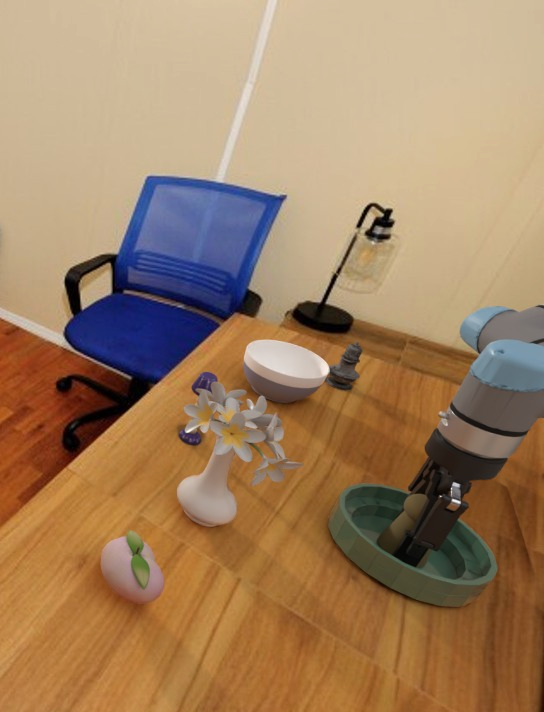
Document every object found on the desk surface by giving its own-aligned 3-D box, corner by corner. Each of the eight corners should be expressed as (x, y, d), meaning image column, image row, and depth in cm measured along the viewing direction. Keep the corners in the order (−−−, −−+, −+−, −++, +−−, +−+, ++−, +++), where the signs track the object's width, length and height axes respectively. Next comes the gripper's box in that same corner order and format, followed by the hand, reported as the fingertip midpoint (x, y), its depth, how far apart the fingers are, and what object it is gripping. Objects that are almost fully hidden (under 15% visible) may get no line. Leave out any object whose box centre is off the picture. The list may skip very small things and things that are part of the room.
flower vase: (220, 572, 80) (270, 456, 69) (139, 485, 96) (169, 379, 85) (282, 549, 84) (339, 435, 72) (194, 469, 99) (230, 364, 88)
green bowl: (467, 545, 84) (486, 520, 81) (486, 636, 71) (508, 611, 69) (329, 490, 94) (341, 467, 92) (323, 561, 82) (338, 537, 79)
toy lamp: (202, 449, 104) (225, 384, 97) (178, 444, 106) (198, 379, 98) (199, 433, 108) (220, 370, 101) (175, 429, 110) (194, 366, 102)
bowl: (223, 369, 129) (234, 337, 124) (291, 373, 127) (305, 341, 122) (253, 410, 115) (266, 375, 110) (330, 415, 113) (346, 381, 108)
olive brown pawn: (376, 551, 82) (405, 504, 77) (378, 527, 86) (406, 481, 81) (426, 574, 78) (460, 527, 73) (426, 548, 82) (459, 501, 77)
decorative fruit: (88, 561, 82) (98, 519, 78) (139, 562, 82) (152, 520, 78) (107, 620, 74) (119, 577, 69) (163, 621, 74) (179, 578, 69)
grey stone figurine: (332, 389, 121) (351, 347, 115) (318, 375, 126) (336, 334, 120) (359, 392, 120) (380, 349, 114) (344, 377, 125) (364, 336, 119)
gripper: (429, 397, 80) (370, 499, 91) (441, 469, 67) (371, 578, 78) (497, 417, 76) (427, 521, 87) (524, 497, 63) (438, 609, 74)
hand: (401, 548), depth 82 cm, fingers closed on olive brown pawn, 6 cm apart
